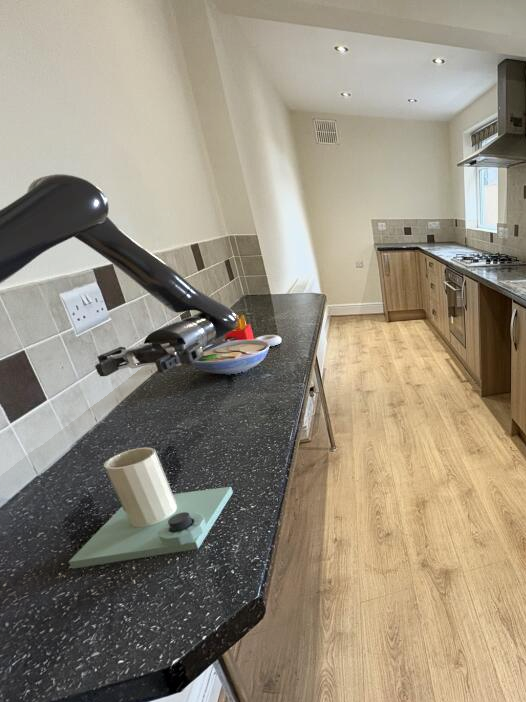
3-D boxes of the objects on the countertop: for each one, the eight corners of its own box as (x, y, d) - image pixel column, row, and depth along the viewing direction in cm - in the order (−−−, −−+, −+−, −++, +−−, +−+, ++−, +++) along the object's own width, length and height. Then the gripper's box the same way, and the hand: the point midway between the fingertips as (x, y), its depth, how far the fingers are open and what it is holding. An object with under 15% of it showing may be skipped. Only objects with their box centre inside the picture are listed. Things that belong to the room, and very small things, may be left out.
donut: (254, 351, 152) (284, 346, 157) (251, 342, 150) (282, 338, 155) (252, 345, 159) (280, 340, 164) (249, 336, 158) (278, 332, 163)
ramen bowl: (245, 386, 121) (238, 360, 118) (170, 386, 121) (160, 360, 118) (290, 358, 144) (285, 336, 141) (226, 358, 144) (219, 336, 141)
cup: (121, 530, 64) (93, 471, 60) (143, 505, 69) (119, 450, 65) (166, 523, 65) (141, 465, 61) (184, 500, 71) (162, 445, 66)
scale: (70, 570, 58) (61, 554, 57) (130, 506, 71) (124, 492, 70) (199, 549, 62) (193, 534, 61) (234, 492, 75) (230, 478, 74)
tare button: (168, 534, 61) (164, 525, 61) (176, 522, 64) (173, 513, 63) (187, 531, 62) (184, 522, 61) (195, 519, 64) (192, 510, 64)
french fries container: (230, 359, 143) (218, 320, 138) (236, 352, 151) (225, 314, 145) (253, 357, 145) (242, 318, 140) (257, 350, 153) (248, 313, 148)
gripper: (131, 326, 81) (70, 350, 66) (212, 322, 84) (171, 345, 69) (143, 362, 84) (88, 393, 69) (222, 357, 87) (184, 385, 72)
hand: (130, 369), depth 69 cm, fingers open, 8 cm apart
